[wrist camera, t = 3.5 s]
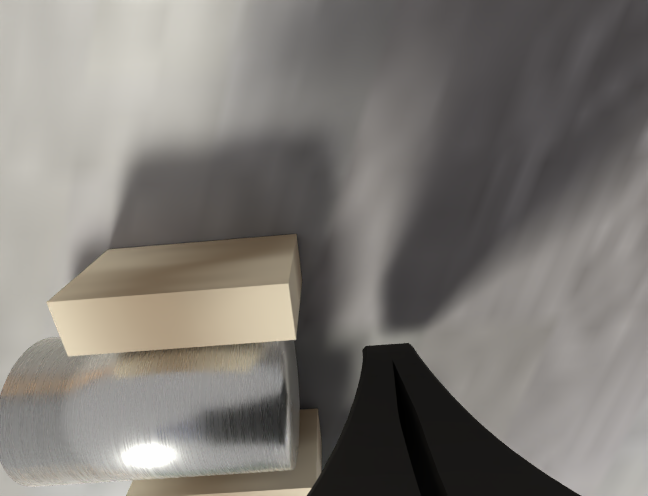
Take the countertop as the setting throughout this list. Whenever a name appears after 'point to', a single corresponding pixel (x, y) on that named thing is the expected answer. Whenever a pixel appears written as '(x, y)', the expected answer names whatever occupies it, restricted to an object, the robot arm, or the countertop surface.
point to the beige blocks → (194, 328)
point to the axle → (149, 413)
